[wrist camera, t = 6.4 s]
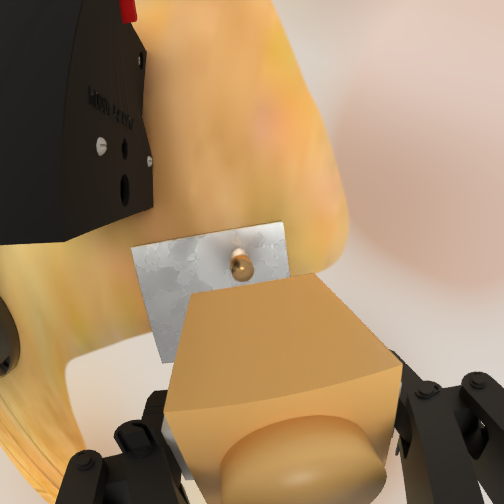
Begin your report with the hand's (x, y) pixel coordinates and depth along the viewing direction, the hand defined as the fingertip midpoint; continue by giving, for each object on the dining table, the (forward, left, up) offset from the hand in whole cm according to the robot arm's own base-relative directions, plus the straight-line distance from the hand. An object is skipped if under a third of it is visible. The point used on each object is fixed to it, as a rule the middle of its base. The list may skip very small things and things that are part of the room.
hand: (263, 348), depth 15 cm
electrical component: (-11, +16, -19) cm, 28 cm away
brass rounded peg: (0, 0, -19) cm, 19 cm away
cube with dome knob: (0, 0, -1) cm, 1 cm away
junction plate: (-3, -4, -19) cm, 20 cm away
